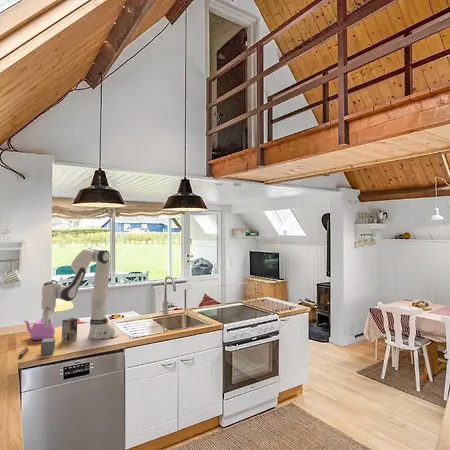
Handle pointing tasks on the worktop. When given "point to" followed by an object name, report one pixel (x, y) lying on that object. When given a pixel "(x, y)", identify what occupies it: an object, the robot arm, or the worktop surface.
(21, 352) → the bar
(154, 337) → the worktop surface
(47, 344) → the gray block
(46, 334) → the teapot
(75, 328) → the coffee box
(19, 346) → the worktop surface
